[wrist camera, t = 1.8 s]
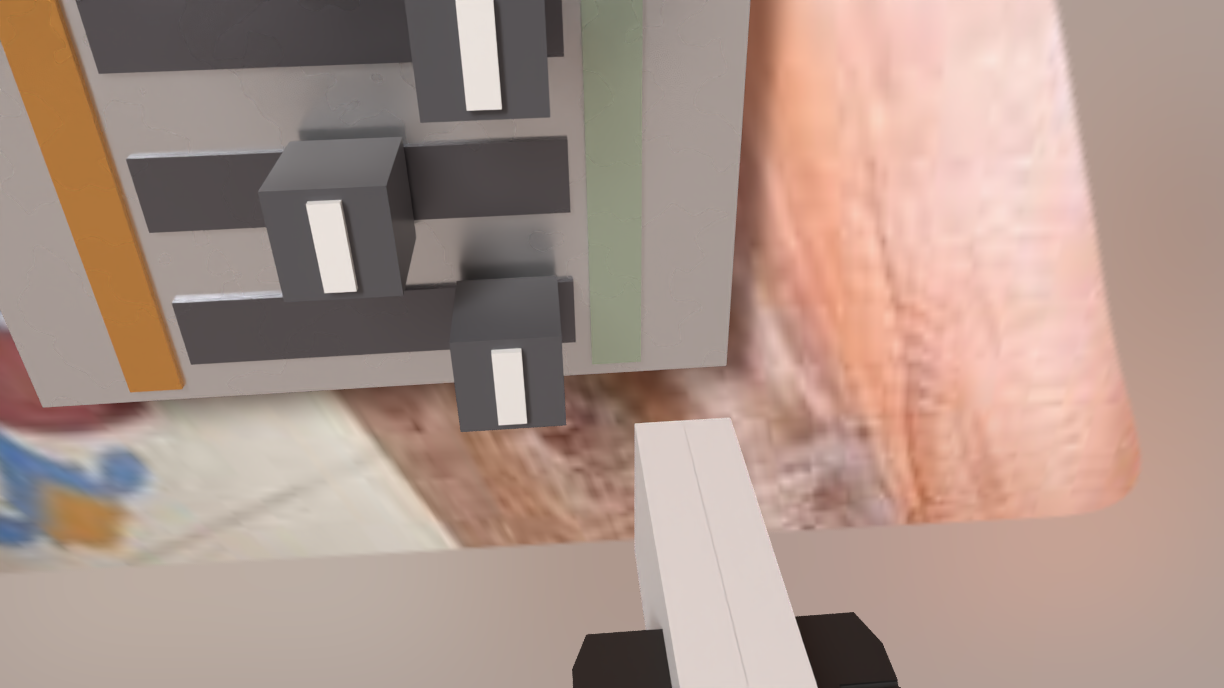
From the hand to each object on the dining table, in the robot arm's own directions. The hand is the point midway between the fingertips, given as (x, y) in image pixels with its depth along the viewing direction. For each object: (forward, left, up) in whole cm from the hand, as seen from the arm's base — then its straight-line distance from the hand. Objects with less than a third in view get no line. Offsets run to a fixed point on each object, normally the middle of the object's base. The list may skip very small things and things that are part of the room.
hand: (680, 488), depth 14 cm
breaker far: (-3, -4, -13) cm, 14 cm away
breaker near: (-3, +5, -13) cm, 14 cm away
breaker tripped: (-7, 0, -13) cm, 15 cm away
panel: (-7, 0, -16) cm, 17 cm away
